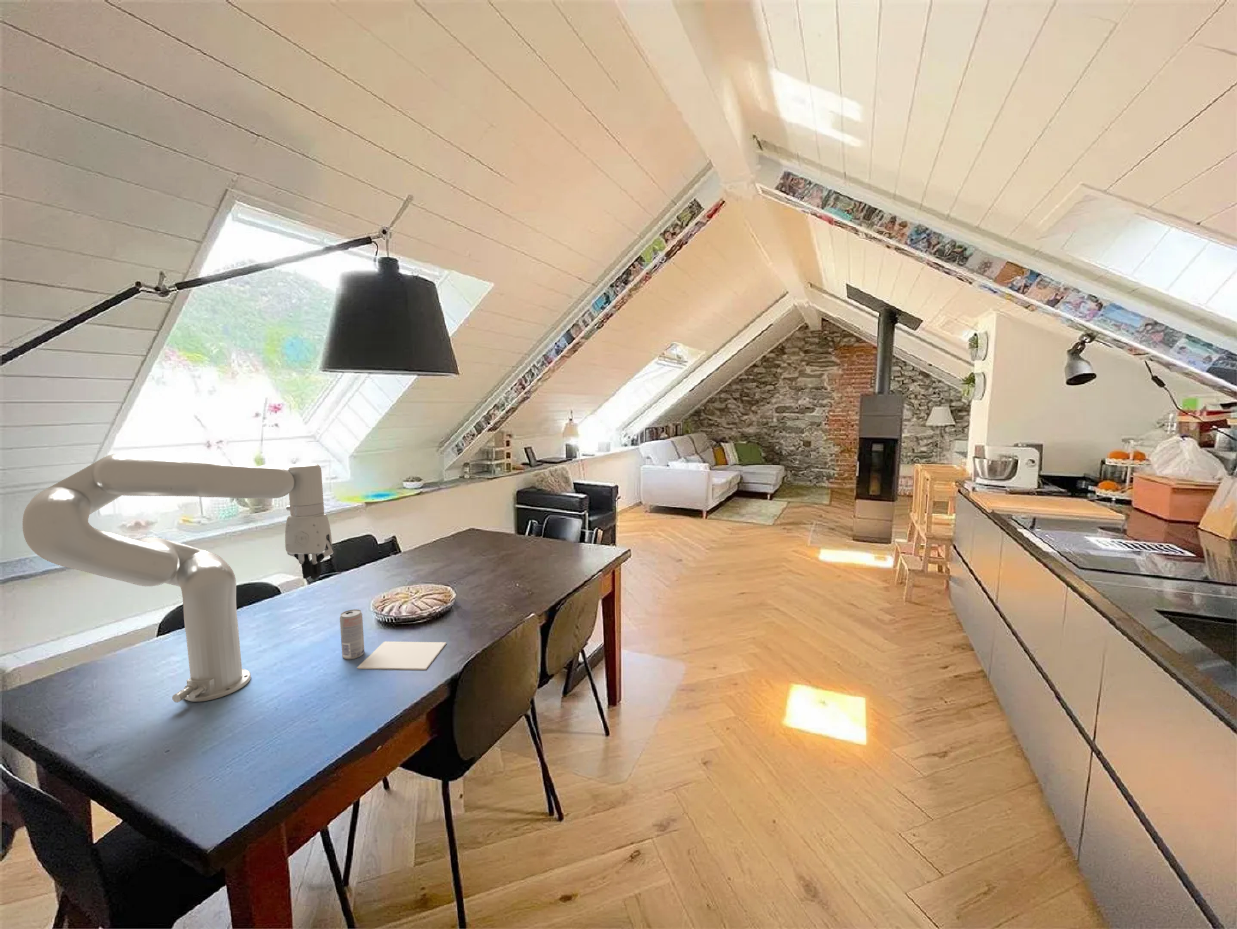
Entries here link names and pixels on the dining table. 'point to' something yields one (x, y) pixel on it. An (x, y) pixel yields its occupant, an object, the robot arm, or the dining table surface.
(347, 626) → the energy drink
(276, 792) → the dining table surface
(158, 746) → the dining table surface
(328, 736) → the dining table surface
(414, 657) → the mat
